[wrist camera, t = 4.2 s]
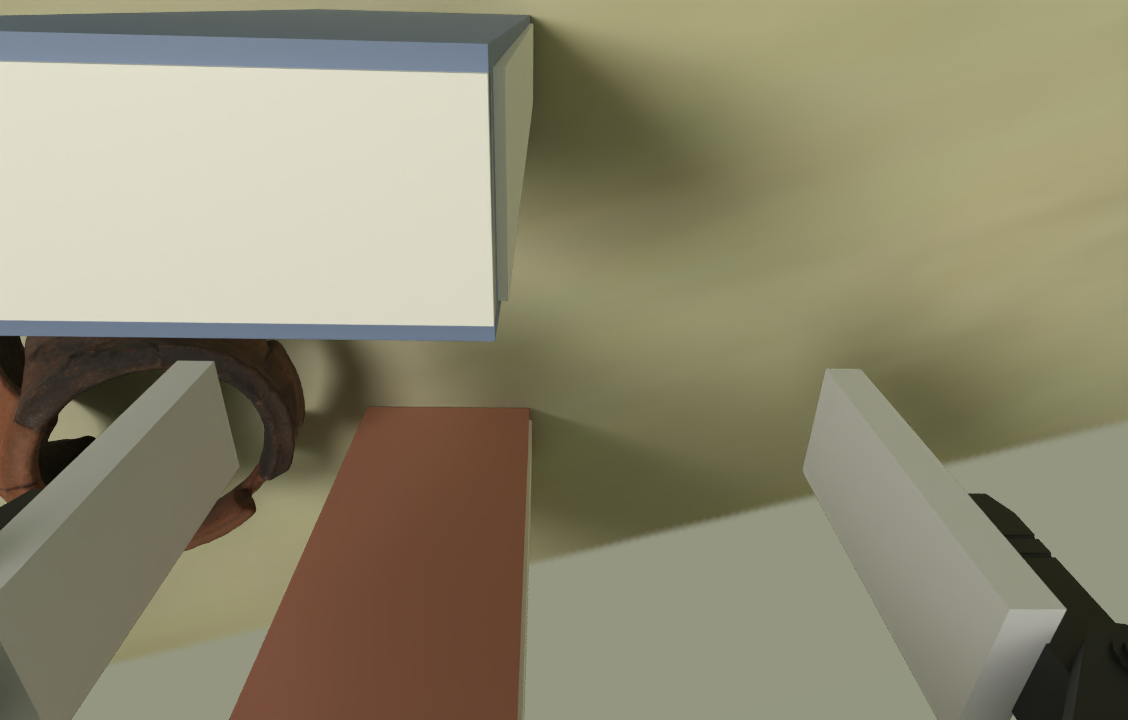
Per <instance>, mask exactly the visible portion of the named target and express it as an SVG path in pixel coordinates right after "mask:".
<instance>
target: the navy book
mask: <svg viewBox="0 0 1128 720" xmlns="http://www.w3.org/2000/svg"><path fill="white" fill-rule="evenodd" d="M532 108H533V24H530V15H503V14H467V13H430V12H394V11H358V10H322V9H310V10H259V11H208V12H158V13H107V14H56V15H5V16H0V336H74V337H159V338H245V339H331V340H416V341H495V339H496V332H497V325H498V319H499V312H500V305H501V301H508V299H509V291H510V283H511V275H512V267H513V259H514V251H515V243H516V235H517V227H518V219H519V211H520V203H521V195H522V187H523V179H524V171H525V163H526V155H527V148H528V140H529V132H530V124H531V116H532Z"/></svg>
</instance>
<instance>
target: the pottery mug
mask: <svg viewBox="0 0 1128 720" xmlns="http://www.w3.org/2000/svg"><path fill="white" fill-rule="evenodd" d="M177 361H214V363H215V367H216V371H217V375H218V379H219V380H222V381H225V382H227V383H229V384H230V385H232V386H234V387H235V388H237V389H238V390H239V391H241V392H242V393H243V394H244V395H245V396H246V397H247V398H248V399H250V400H251V402H252V403H253V405H254V406H255V408H256V409H257V411H258V412H259V414H260V416H261V419H262V421H263V424H264V429H265V432H264V437H265V439H264V447H263V451H262V454H261V458H260V462H259V463H258V465H257V466H256V467H255V469H254V470H253V472H252V473H251V474H250V475H249V476H248V477H247V479H246V480H244V481H243V482H242V483H241V484H239V485H238V486H236V487H235V488H234V489H233V490H232V491H230V492H229V493H227V494H226V495H224V496H223V497H222V498H220V499H218V500H217V502H216V503H215V505H214V506H213V508H212V509H211V511H210V512H209V514H208V515H207V517H206V518H205V520H204V521H203V523H202V524H201V526H200V527H199V529H198V530H197V532H196V533H195V535H194V536H193V538H192V539H191V541H190V542H189V544H188V545H187V547H186V548H185V550H184V551H187V550H190V549H193V548H195V547H197V546H200V545H202V544H205V543H209V542H211V541H213V540H215V539H217V538H219V537H222V536H223V535H226V534H227V533H229V532H230V531H232V530H233V529H235V528H237V527H238V526H240V525H241V524H242V523H244V522H245V521H246V520H248V519H249V518H250V517H251V516H252V515H253V514H254V513H255V512H256V506H255V502H254V500H253V498H252V494H253V493H254V492H255V491H257V490H258V489H259V488H260V487H261V485H262V484H263V483H264V482H265V481H267V480H272V479H274V478H275V477H277V476H279V475H280V474H282V473H284V472H286V471H287V470H288V469H289V468H290V466H291V464H292V460H293V453H294V446H295V439H296V437H297V435H298V429H299V428H300V427H301V425H302V424H303V421H304V417H305V403H304V396H303V389H302V386H301V382H300V379H299V376H298V374H297V371H296V368H295V366H294V365H293V363H292V361H291V360H290V358H289V356H288V355H287V353H286V351H285V349H284V347H283V346H282V345H281V344H280V343H279V342H278V341H275V340H268V341H266V339H245V338H159V337H74V336H27V338H26V343H25V348H24V346H23V345H22V342H21V339H20V336H0V496H1V497H2V498H3V499H5V501H6V502H7V503H8V502H10V501H12V500H14V499H15V498H17V497H19V496H20V495H22V494H24V493H26V492H27V491H29V490H31V489H44V488H45V487H46V486H47V485H49V484H50V483H51V482H52V481H53V480H54V479H55V478H56V477H57V476H58V475H59V474H60V473H61V472H62V471H63V470H64V469H65V468H66V467H67V466H68V465H69V464H70V463H71V462H72V461H73V460H75V459H76V458H77V457H78V456H79V455H80V454H81V453H82V452H83V451H84V450H85V449H86V448H87V447H88V446H89V445H90V444H91V443H92V442H93V441H94V440H95V439H96V438H94V437H92V436H84V437H81V438H77V439H62V440H57V441H51V442H48V438H49V436H50V434H51V432H52V431H53V429H54V427H55V426H56V424H57V421H58V414H59V413H60V411H61V410H62V409H63V408H64V407H65V406H66V405H67V404H68V403H69V402H70V401H72V400H73V399H74V398H75V397H77V396H78V395H80V394H82V393H83V392H85V391H87V390H89V389H91V388H93V387H95V386H97V385H99V384H102V383H104V382H106V381H108V380H111V379H114V378H116V377H120V376H123V375H128V374H131V373H135V372H142V371H146V370H151V369H166V370H168V369H169V368H170V367H171V366H172V365H173V364H174V363H175V362H177Z"/></svg>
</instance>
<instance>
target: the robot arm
mask: <svg viewBox="0 0 1128 720" xmlns="http://www.w3.org/2000/svg"><path fill="white" fill-rule="evenodd" d="M239 467H240V466H239V462H238V458H237V454H236V449H235V445H234V441H233V437H232V433H231V429H230V425H229V421H228V416H227V412H226V408H225V404H224V400H223V396H222V392H221V388H220V383H219V379H218V375H217V371H216V367H215V363H214V361H177V362H175V363H174V364H173V365H172V366H171V367H170V368H169V369H168V370H167V371H166V372H165V373H164V374H163V375H162V376H161V377H160V378H159V379H158V380H157V381H156V382H155V383H154V384H153V385H152V386H150V387H149V388H148V389H147V390H146V391H145V392H144V393H143V394H142V395H141V396H140V397H139V398H138V399H137V400H136V401H135V402H134V403H133V404H132V405H131V406H130V407H129V408H128V409H127V410H126V411H124V412H123V413H122V414H121V415H120V416H119V417H118V418H117V419H116V420H115V421H114V422H113V423H112V424H111V425H110V426H109V427H108V428H107V429H106V430H105V431H104V432H103V433H102V434H101V435H100V436H98V437H97V438H96V439H95V440H94V441H93V442H92V443H91V444H90V445H89V446H88V447H87V448H86V449H85V450H84V451H83V452H82V453H81V454H80V455H79V456H78V457H77V458H76V459H75V460H73V461H72V462H71V463H70V464H69V465H68V466H67V467H66V468H65V469H64V470H63V471H62V472H61V473H60V474H59V475H58V476H57V477H56V478H55V479H54V480H53V481H52V482H51V483H50V484H49V485H47V486H46V487H45V488H44V489H31V490H29V491H27V492H26V493H24V494H22V495H20V496H19V497H17V498H15V499H14V500H12V501H10V502H8V503H7V504H5V505H3V506H1V507H0V720H71V719H72V718H73V716H74V715H75V713H76V712H77V710H78V709H79V707H80V706H81V704H82V703H83V701H84V700H85V698H86V696H87V695H88V693H89V692H90V691H91V689H92V688H93V686H94V685H95V683H96V682H97V680H98V679H99V677H100V676H101V674H102V673H103V671H104V669H105V668H106V667H107V665H108V664H109V662H110V661H111V659H112V658H113V656H114V655H115V653H116V652H117V650H118V649H119V647H120V646H121V644H122V643H123V641H124V640H125V638H126V637H127V635H128V634H129V632H130V631H131V629H132V628H133V626H134V625H135V623H136V622H137V620H138V619H139V617H140V616H141V614H142V613H143V611H144V610H145V608H146V607H147V605H148V604H149V602H150V601H151V599H152V598H153V596H154V595H155V593H156V592H157V590H158V589H159V587H160V586H161V584H162V583H163V581H164V580H165V578H166V577H167V575H168V574H169V572H170V571H171V569H172V568H173V566H174V565H175V563H176V562H177V560H178V559H179V557H180V556H181V554H182V553H183V551H184V550H185V548H186V547H187V545H188V544H189V542H190V541H191V539H192V538H193V536H194V535H195V533H196V532H197V530H198V529H199V527H200V526H201V524H202V523H203V521H204V520H205V518H206V517H207V515H208V514H209V512H210V511H211V509H212V508H213V506H214V505H215V503H216V502H217V500H218V499H219V497H220V496H221V494H222V493H223V491H224V490H225V488H226V487H227V485H228V484H229V482H230V481H231V479H232V478H233V476H234V475H235V473H236V472H237V470H238V469H239ZM802 472H803V473H804V475H805V477H806V479H807V481H808V483H809V484H810V486H811V488H812V490H813V492H814V494H815V496H816V497H817V499H818V501H819V503H820V505H821V507H822V508H823V510H824V512H825V514H826V516H827V517H828V519H829V521H830V523H831V525H832V527H833V529H834V530H835V532H836V534H837V536H838V538H839V539H840V541H841V543H842V545H843V547H844V549H845V551H846V552H847V554H848V556H849V558H850V560H851V562H852V563H853V565H854V567H855V569H856V571H857V573H858V574H859V576H860V578H861V580H862V582H863V584H864V586H865V587H866V589H867V591H868V593H869V595H870V597H871V598H872V600H873V602H874V604H875V606H876V608H877V609H878V611H879V613H880V615H881V617H882V619H883V620H884V622H885V624H886V626H887V628H888V629H889V631H890V633H891V635H892V637H893V639H894V640H895V643H896V644H897V646H898V648H899V650H900V652H901V654H902V655H903V657H904V659H905V661H906V663H907V665H908V666H909V668H910V670H911V671H912V674H913V676H914V677H915V679H916V681H917V683H918V685H919V686H920V688H921V690H922V692H923V694H924V696H925V698H926V699H927V701H928V703H929V705H930V707H931V709H932V710H933V712H934V714H935V716H936V718H937V720H1010V719H1011V717H1012V715H1014V716H1015V718H1016V719H1017V720H1128V625H1126V624H1119V623H1115V622H1114V621H1113V620H1112V619H1111V618H1110V617H1109V616H1108V614H1107V613H1106V612H1105V611H1104V610H1103V609H1102V608H1101V607H1100V606H1099V605H1098V603H1096V601H1095V600H1094V599H1093V598H1092V597H1091V596H1090V595H1089V594H1088V593H1087V592H1086V590H1085V589H1084V588H1083V587H1082V586H1081V585H1080V584H1079V583H1078V582H1077V581H1076V579H1075V578H1074V577H1073V576H1072V575H1071V574H1070V573H1069V572H1068V571H1067V570H1066V569H1065V568H1064V566H1063V565H1062V564H1061V563H1060V562H1059V561H1058V560H1057V559H1056V558H1052V557H1051V552H1050V551H1049V550H1048V549H1047V548H1046V547H1045V546H1044V545H1043V543H1042V542H1040V540H1039V539H1035V538H1034V534H1033V533H1032V532H1031V530H1030V529H1029V528H1028V527H1027V526H1026V525H1025V524H1024V523H1023V522H1022V521H1021V520H1020V518H1019V517H1018V516H1017V515H1016V514H1015V513H1014V512H1012V511H1011V510H1009V509H1008V508H1006V507H1005V506H1003V505H1002V504H1000V503H999V502H997V501H996V500H994V499H993V498H991V497H990V496H988V495H987V494H967V493H966V491H965V490H964V489H963V488H962V487H961V486H960V484H959V483H958V482H957V481H956V480H955V478H954V477H953V476H952V475H951V474H950V473H949V471H948V470H947V469H946V468H945V467H944V466H943V464H942V463H941V462H940V461H939V460H938V459H937V457H936V456H935V455H934V454H933V453H932V452H931V450H930V449H929V448H928V447H927V446H926V445H925V443H924V442H923V441H922V440H921V439H920V438H919V436H918V435H917V434H916V433H915V432H914V431H913V429H912V428H911V427H910V426H909V425H908V424H907V422H906V421H905V420H904V419H903V418H902V417H901V415H900V414H899V413H898V412H897V411H896V410H895V408H894V407H893V406H892V405H891V404H890V403H889V401H888V400H887V399H886V398H885V397H884V396H883V394H882V393H881V392H880V391H879V390H878V389H877V387H876V386H875V385H874V384H873V383H872V382H871V380H870V379H869V378H868V377H867V376H866V375H865V373H864V372H863V371H862V370H861V369H826V371H825V375H824V379H823V384H822V388H821V392H820V397H819V401H818V405H817V410H816V414H815V418H814V423H813V427H812V431H811V436H810V440H809V444H808V448H807V453H806V457H805V461H804V466H803V470H802Z"/></svg>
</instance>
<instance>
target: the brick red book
mask: <svg viewBox="0 0 1128 720" xmlns="http://www.w3.org/2000/svg"><path fill="white" fill-rule="evenodd" d="M529 415H530V408H455V407H367V409H366V411H365V414H364V416H363V418H362V421H361V423H360V425H359V427H358V430H357V432H356V434H355V436H354V439H353V441H352V443H351V445H350V448H349V450H348V452H347V454H346V457H345V459H344V461H343V463H342V466H341V468H340V470H339V472H338V475H337V477H336V479H335V482H334V484H333V486H332V488H331V491H330V493H329V495H328V497H327V500H326V502H325V504H324V506H323V509H322V511H321V513H320V515H319V518H318V520H317V522H316V524H315V527H314V529H313V531H312V534H311V536H310V538H309V540H308V543H307V545H306V547H305V549H304V552H303V554H302V556H301V558H300V561H299V563H298V565H297V567H296V570H295V572H294V574H293V576H292V579H291V581H290V583H289V585H288V588H287V590H286V592H285V595H284V597H283V599H282V601H281V604H280V606H279V608H278V610H277V613H276V615H275V617H274V619H273V622H272V624H271V626H270V628H269V631H268V633H267V635H266V637H265V640H264V642H263V644H262V647H261V649H260V651H259V653H258V656H257V658H256V660H255V662H254V665H253V667H252V669H251V671H250V674H249V676H248V678H247V681H246V683H245V685H244V687H243V689H242V692H241V694H240V696H239V699H238V701H237V703H236V705H235V708H234V710H233V713H232V714H231V717H230V719H229V720H524V711H525V676H526V644H527V641H526V640H527V610H528V574H529V543H530V509H531V475H532V420H529Z"/></svg>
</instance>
